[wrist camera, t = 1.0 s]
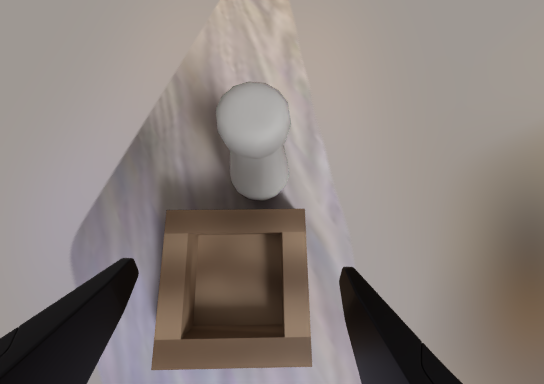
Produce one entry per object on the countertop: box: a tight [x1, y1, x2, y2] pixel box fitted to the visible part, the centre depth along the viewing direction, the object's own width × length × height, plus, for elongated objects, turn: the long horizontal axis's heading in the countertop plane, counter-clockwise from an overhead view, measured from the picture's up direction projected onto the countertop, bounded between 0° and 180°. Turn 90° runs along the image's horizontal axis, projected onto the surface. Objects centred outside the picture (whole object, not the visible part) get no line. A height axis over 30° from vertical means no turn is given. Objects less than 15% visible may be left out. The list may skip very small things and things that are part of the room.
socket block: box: [151, 209, 312, 370], centre depth 20 cm, size 12×12×4 cm
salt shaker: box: [216, 82, 291, 201], centre depth 18 cm, size 6×6×13 cm
